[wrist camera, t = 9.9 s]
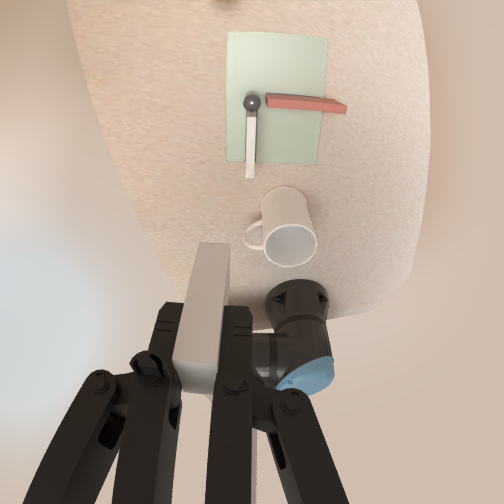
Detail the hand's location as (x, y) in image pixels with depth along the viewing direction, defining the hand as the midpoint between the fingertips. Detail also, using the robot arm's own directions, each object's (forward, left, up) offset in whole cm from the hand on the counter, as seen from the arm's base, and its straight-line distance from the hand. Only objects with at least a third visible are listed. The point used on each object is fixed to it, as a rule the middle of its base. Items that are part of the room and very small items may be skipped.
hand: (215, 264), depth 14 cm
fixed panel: (-2, -1, -33) cm, 33 cm away
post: (+5, -1, -33) cm, 34 cm away
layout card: (+5, -5, -34) cm, 34 cm away
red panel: (+5, -9, -33) cm, 34 cm away
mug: (-15, -6, -34) cm, 38 cm away
